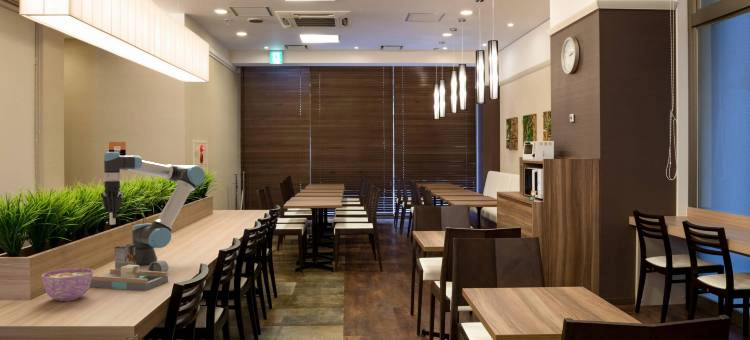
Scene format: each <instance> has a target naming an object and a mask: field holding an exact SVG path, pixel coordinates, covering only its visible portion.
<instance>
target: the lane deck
mask: <svg viewBox="0 0 750 340" xmlns="http://www.w3.org/2000/svg"><path fill="white" fill-rule="evenodd" d="M168 282H169V275H168V271H167V272H156V271H148V270H140V277H139V278H124V277H121V269H115V268H111V269H109V273H107V274H103V275H92V279H91V283H90V287H89V288H100V289H115V290H117V289H118V290H131V291H147V290H150V289H153V288H156V287H159V286H161V285H163V284H165V283H168Z"/></svg>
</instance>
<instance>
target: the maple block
mask: <svg viewBox="0 0 750 340" xmlns="http://www.w3.org/2000/svg"><path fill="white" fill-rule="evenodd" d="M140 266H141V265H126V266H123V267H121V277H124V278H139V277H140V271H141V270H140V269H141V267H140Z"/></svg>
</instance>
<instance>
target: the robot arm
mask: <svg viewBox="0 0 750 340" xmlns="http://www.w3.org/2000/svg"><path fill="white" fill-rule="evenodd" d="M120 154H121V153H120V152H119V151H106V152H104V156H103V166H104V167H103V171H104V173H103V174H104V175H103V176H104V179H103V180H104V184H103V185H104V192H103V193H100V196H101V198H102V202H103V208H104V211H105V212H107V213H108V219H109V225H111V226H113V225H117V224H116V223H117V221H116V219H117V217H118V216H117V212H119V211H121V207H122V201H123V198H124V196H125V194H124V193H122V192H121V191H120V190H121V189H120V188H121V172H120V171H121V170H123V171H127V172H128V171H129V172H133V173H139V174H145V175H149V176H155V177H161V178H164V180H166V181H170V182H174V183H176V184H177V185H176V186H175V189H174V190H173V192H172V194H171V195H170V197H169V199H168V200H167V201H166V204H165V206H164V208H163V209H162V211H161V213H160V214H159V216H158V218H157V219H155V220H153V221H152V222H149V223H141V224H133V226H132V230H131V232H132V233H131V234H132V241H131V243H132V245H136V265H140V266H143V265H144V266H145V265H150V264H151V263H153V262H157V261H158V257H157V254H156V251H155V249H161V248H165V247H166V246H168V245H169V244H170V242H171V240H172V231H173V228H172V226H173V224H174V222H175V220H176V219H177V216H178V215H179V213H180V211H181V209H182V208H183V206H184V204H185V202H186V201H187V199H188V197H189V195H190V194H191V192H193V191H195V190H196V189H197V186H199V185H201V184H203V183H204V181H205V177H206V174H205V171H204V169H203V167H201V166H199V165H195V164H191V165H188V164H187V165H185V164H183V165H182V164H180V165H179V164H178V165H177V164H169V163H168V164H161V163H156V162H152V161H148V160H147V161H146V160H142V157H141V156H140V155H120Z"/></svg>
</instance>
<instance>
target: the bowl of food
mask: <svg viewBox="0 0 750 340" xmlns="http://www.w3.org/2000/svg"><path fill="white" fill-rule="evenodd" d="M92 276H94V269H92V268H88V267H87V268H84V267H73V268H63V269H62V268H61V269H56V270H51V271H47V272H44V273H43V274H41V280H42V284H43V286H44V290H45V293H46V294H47V295H48V296H49V297H50V298H52V299H53V300H57V301H59V302H70V301H75V300H78V299H79V298H80V297H82V296H84V295H85V294H87V292H89V289H90V288H91V287H90V283H91V279H92Z"/></svg>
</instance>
